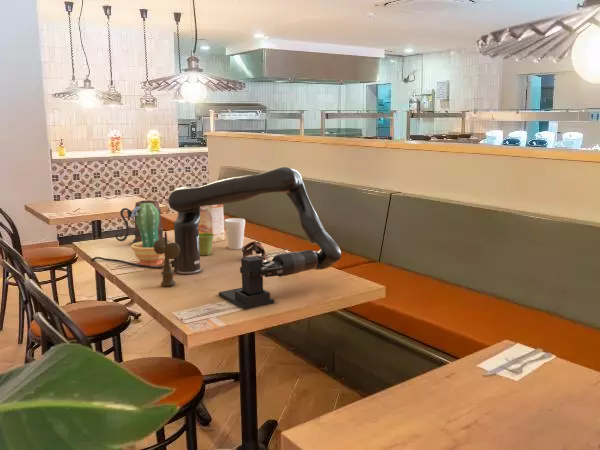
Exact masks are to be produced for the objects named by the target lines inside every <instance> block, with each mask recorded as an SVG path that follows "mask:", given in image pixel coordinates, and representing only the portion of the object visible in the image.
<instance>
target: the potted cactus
mask: <svg viewBox="0 0 600 450" xmlns="http://www.w3.org/2000/svg"><path fill="white" fill-rule="evenodd" d="M131 212H132V214H131V217H130V219H131V220H132V222H134V223H135V216H136V223H137V226H138V228H139V230H140V234H141V238H142V241H141V242H137V243H133V244H132V245H131V244H130V249H131V250H132V251H133V252H134V256H135V257H136V258H137V259H138V260H139V265H147V266H158V265H162V264H164V261H163V259H165V254H164V253H163V254H157V253H156V252H155V251H154V244H155V242H156V241H157V240H158V225H159V212H158V210H157V208H156V207H155V206H154V205H153V204H152V203H151V204H150V203H147V204H146V203H143V204H141V205H140V206H137V207H135V206H134V208H133V210H132V211H131ZM167 242H168V243H170V242H169V241H167Z"/></svg>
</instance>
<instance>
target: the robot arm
mask: <svg viewBox="0 0 600 450" xmlns="http://www.w3.org/2000/svg"><path fill="white" fill-rule="evenodd" d="M272 193H283V194H284V193H285V195H286V196H287V197H288V198H289V200H290V201H291V203H292V204H293V206H294V209H295V212H296V214H297V217H298V221H299V224H300V226H301V229H302V231H303V232H304V235H305V236H306V238H307V240H308V242H309V243H310V244H311V245H317V246H318V247H319V248H320V249H319V250H317V251H314V250H312V249H306V250H300V251H291V252H285V253H279V254H278V253H277V254H275V255H274V256H273V258H272V260H270V259H268V260H267V259H265V260H264V259H262V268H260V269H254V270H249V271H248V276H249V277H255V276H263V277H264V278H270V277H278V278H279V277H280V278H282V277H286V276H291V275H296V274H300V273H302V272H307V271H312V270H314V271H315V270H317V271H321V270H325V269H329V268H331V267H332V266H334V265H335V264H337V263H338V262H339V261H341V258H342V251H341V248H340V247H339V245H338V243H337V242H336V241H335V240H334V239H333V237H331V235H329V233H328V232H327V231H326V229H325V227H324V225H323V223H322V222H321V220H320V218H319V216H318V214H317V212H316V210H315V208H314V206H313V204H312V202H311V200H310V198H309V196H308V193H307V189H306V187H305V184H304V181H303V178H302V176H301V174H300V172H299V171H297V169H294V168H292V167H289V166H282V167H278V168H275V169H271V170H269V171H265V172H262V173H257V174H247V175H242V176H241V175H240V176H234V177H229V178H225V179H220V180H217V181H214V182H211V183H208V184H205V185H202V186H197V187H193V186H191V185H190V186H189V185H187V186H182V187H179V188H175V189H174V190H173V191H172V192H171V193H170V194H169V196H168V199H167V201H168V203H167V204H168V205H169V207H170V208H171V209H172V210H174V212H177V217H176V219H175V220H174V222H173V229H174V242H175V243H177V244H178V245H179V247H180V253H179V255H178V257H176V258H174V259H170V265H171V268H173V272H174V274H175V273H176V274H179V275H194V274H197V273H200V272H201V271H202V268H201V255H200V246H199V221H200V207H202V206H208V205H220V204H223V205H228V204H234V203H239V202H245V201H247V200H250V199H252V198H255V197H257V196H260V195H264V194H272ZM95 260H101V261H110V262H117V263H122V264H127V265H130V266H135V267H140V268H147V269H164V264H163V265H161V266H156V265H154V266H147V265H141V264H140V263H139V264H138V263H134V262H129V261H126V260H121V259H114V258H106V257H101V256H94V257H93V258H92V259H91V261H92V262H94V261H95ZM239 273H240V274H242V268H241V266H240V267H239Z"/></svg>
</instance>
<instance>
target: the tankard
mask: <svg viewBox="0 0 600 450" xmlns="http://www.w3.org/2000/svg"><path fill="white" fill-rule="evenodd" d="M143 203H146V204H147V203H150V204H151V203H152V204H153V205H154V206H155V207H156V208H157V210H158V212H159V225H158V240H160V239H164V240H165V236H164V230H163V229H164V228H163V226H162V215H161V213H162V210H161V208H160V203H159V201H158V200H150V199H149V200H148V199H147V200H139V201H136V202H135V205H134V208H135V207H137V206H140V205H141V204H143ZM125 211H127V216H126V218H127V219H131V214H132V212H133V211H132V210H130V209H129V208H128V207H124V208H121V210H120V216H121V218H122V220H123V221H124V224H125V234H124V236H123V233H122V232H120V231H117V232H116V233H115V234H114V236H115V239H116V240H117V241H118V242H125V241H126V240H127V238H128V236H129V232H130V228H129V223H128V221H127V220H126V218H125V216H124V212H125ZM119 235H120V236H119ZM141 241H142V238H141V234H140V230H139V228H138V226H137V223H136V216H135V217H134V239H133V240H132V242H131V243H130V246H131V245H132V244H133V243H137V242H141Z"/></svg>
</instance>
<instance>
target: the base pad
mask: <svg viewBox="0 0 600 450" xmlns="http://www.w3.org/2000/svg"><path fill="white" fill-rule="evenodd" d="M218 296H219V297H221V298H222V299H224V300H226V301H228V302H229V303H231V304H234V305H235V306H236V307H238V308H240V309H242V310H248V309H255V308H257V307H261V306H262V307H263V306H266V305H267V306H268V305H272V304H274V303H275V299H274V298H272V297H271V292H269V291H267V290H265V289H263V292H260V293H255V294H251V295H249V294H247V293H245V292H243V291H242V287H238V288H233V289H228V290H222V291H219V292H218Z"/></svg>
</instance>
